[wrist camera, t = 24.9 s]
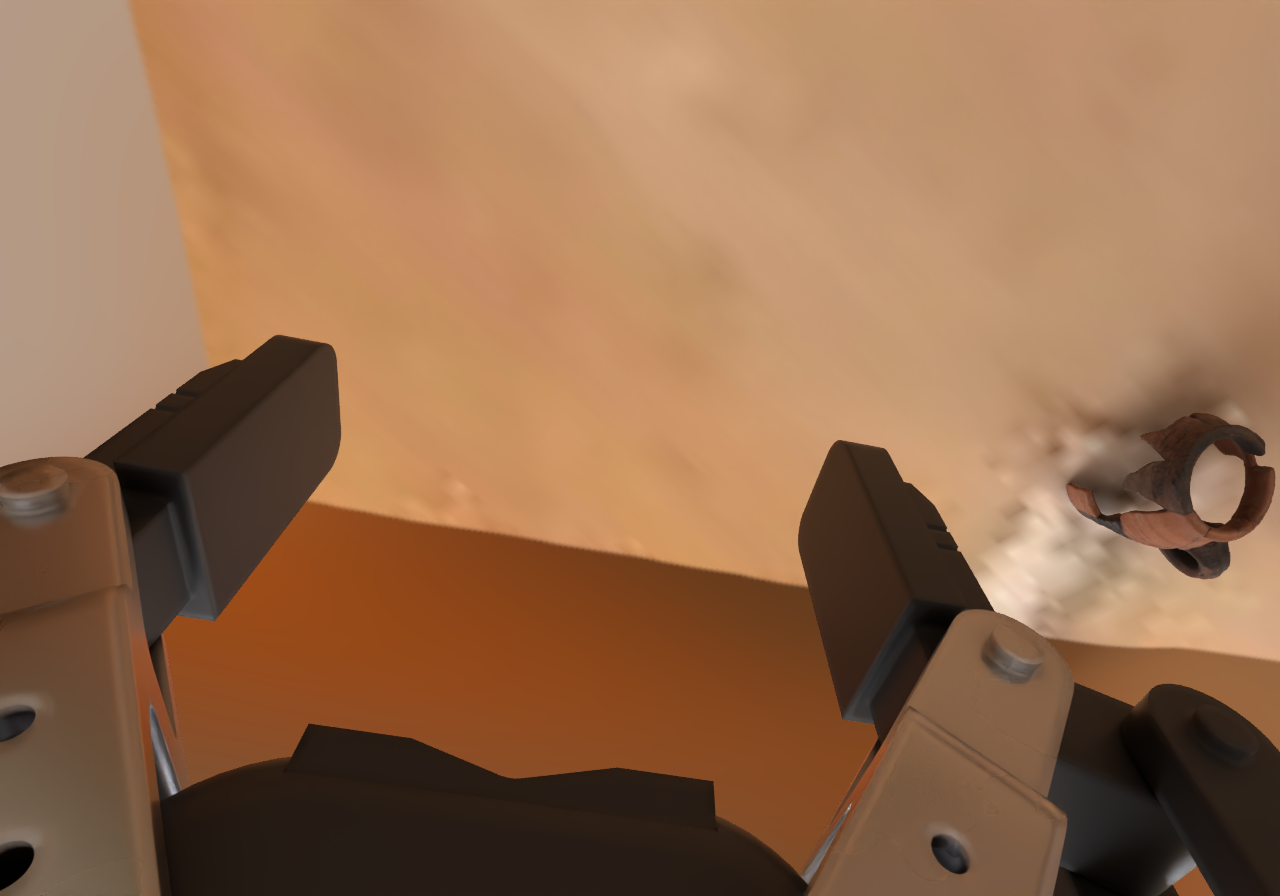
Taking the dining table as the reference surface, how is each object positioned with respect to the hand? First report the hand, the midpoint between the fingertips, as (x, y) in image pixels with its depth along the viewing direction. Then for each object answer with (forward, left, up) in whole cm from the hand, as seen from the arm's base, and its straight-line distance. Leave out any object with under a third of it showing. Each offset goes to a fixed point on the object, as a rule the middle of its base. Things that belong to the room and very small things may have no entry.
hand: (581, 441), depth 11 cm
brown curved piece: (-18, +37, -30) cm, 51 cm away
